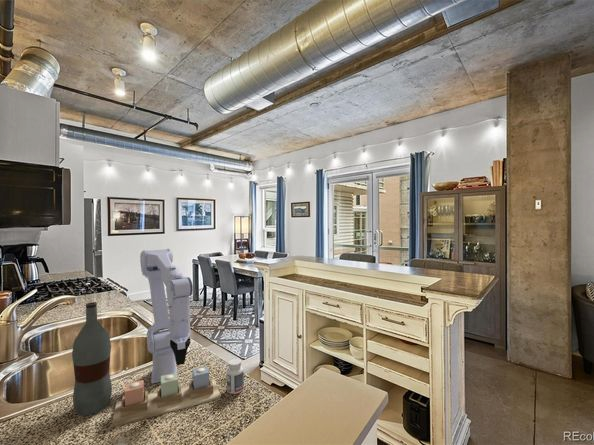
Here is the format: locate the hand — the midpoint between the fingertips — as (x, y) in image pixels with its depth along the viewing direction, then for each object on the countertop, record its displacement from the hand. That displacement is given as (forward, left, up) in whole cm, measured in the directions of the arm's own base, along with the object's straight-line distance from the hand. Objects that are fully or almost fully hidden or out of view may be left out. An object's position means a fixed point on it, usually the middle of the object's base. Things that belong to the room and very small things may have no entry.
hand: (180, 363), depth 88 cm
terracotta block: (0, -12, -8) cm, 15 cm away
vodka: (-7, -23, -11) cm, 26 cm away
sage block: (0, -3, -8) cm, 9 cm away
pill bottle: (+3, +16, -11) cm, 19 cm away
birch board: (0, -3, -10) cm, 11 cm away
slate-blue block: (0, +6, -8) cm, 10 cm away
